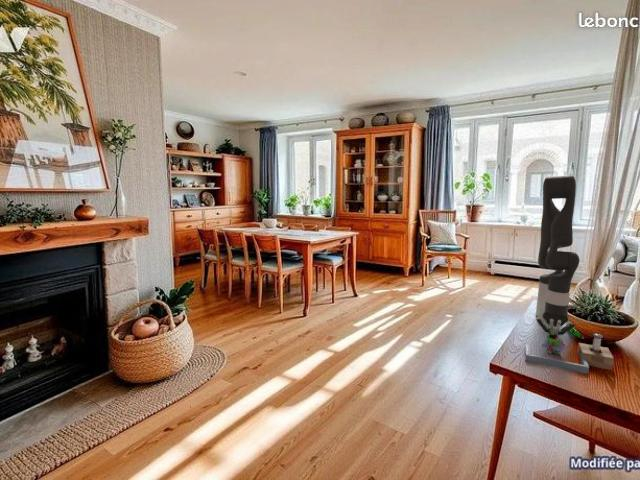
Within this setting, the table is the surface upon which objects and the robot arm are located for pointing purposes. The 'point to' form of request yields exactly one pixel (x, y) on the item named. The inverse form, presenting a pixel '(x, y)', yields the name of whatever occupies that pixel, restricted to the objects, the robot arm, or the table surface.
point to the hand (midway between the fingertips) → (552, 342)
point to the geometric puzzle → (554, 345)
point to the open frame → (557, 362)
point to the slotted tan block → (596, 356)
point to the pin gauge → (596, 342)
